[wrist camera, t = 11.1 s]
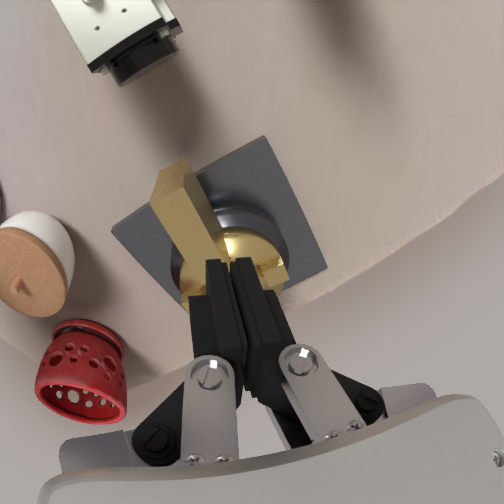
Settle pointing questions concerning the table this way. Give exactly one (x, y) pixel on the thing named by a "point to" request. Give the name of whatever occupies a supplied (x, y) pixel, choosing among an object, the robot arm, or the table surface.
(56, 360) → the plant pot
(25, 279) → the lidded jar
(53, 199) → the table surface
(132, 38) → the pneumatic valve
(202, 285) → the gold slotted fixture
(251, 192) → the housing
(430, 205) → the table surface
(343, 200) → the table surface
